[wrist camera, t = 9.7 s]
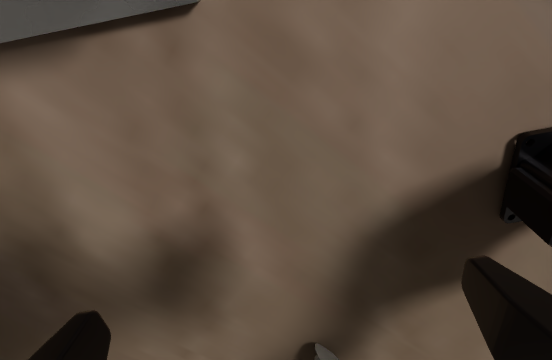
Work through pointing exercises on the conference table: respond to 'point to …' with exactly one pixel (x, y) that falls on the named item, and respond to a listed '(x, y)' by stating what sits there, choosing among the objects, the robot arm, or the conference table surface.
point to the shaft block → (68, 14)
